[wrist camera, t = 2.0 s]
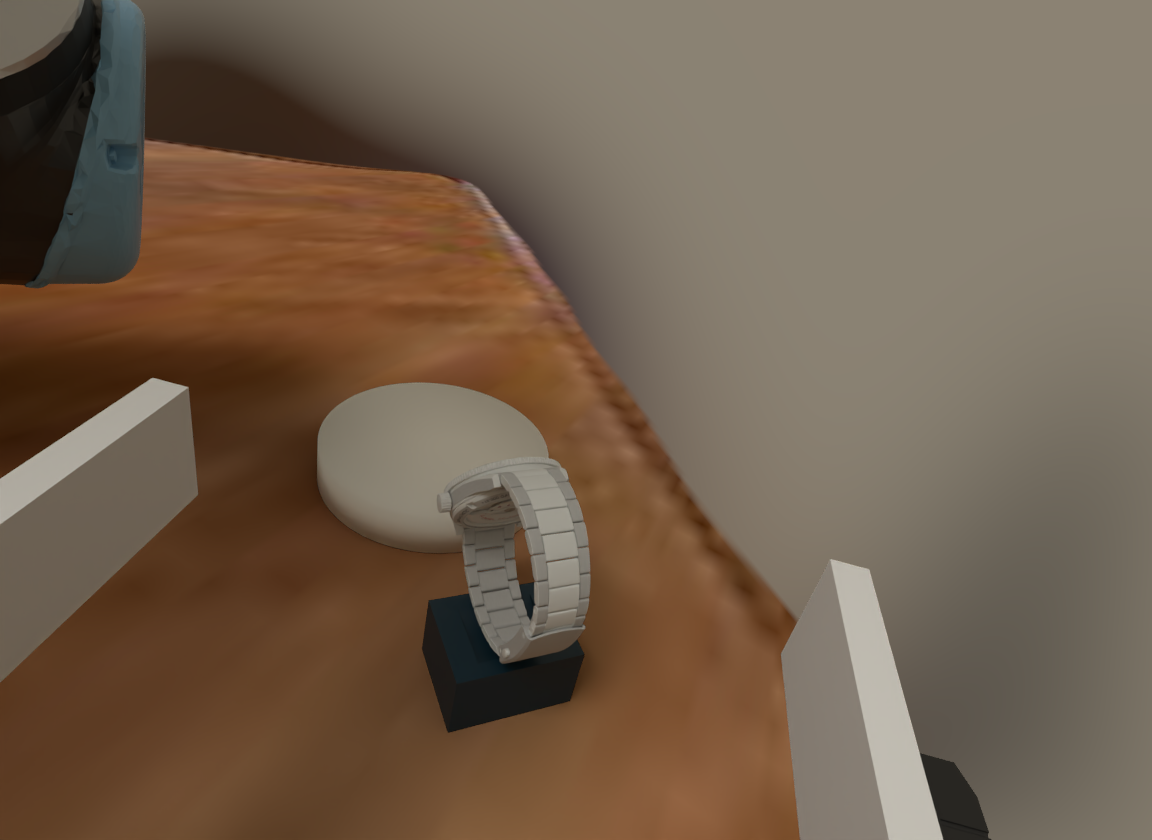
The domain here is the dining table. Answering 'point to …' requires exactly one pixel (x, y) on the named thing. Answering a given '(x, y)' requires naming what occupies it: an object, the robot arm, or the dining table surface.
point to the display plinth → (413, 458)
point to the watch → (510, 595)
